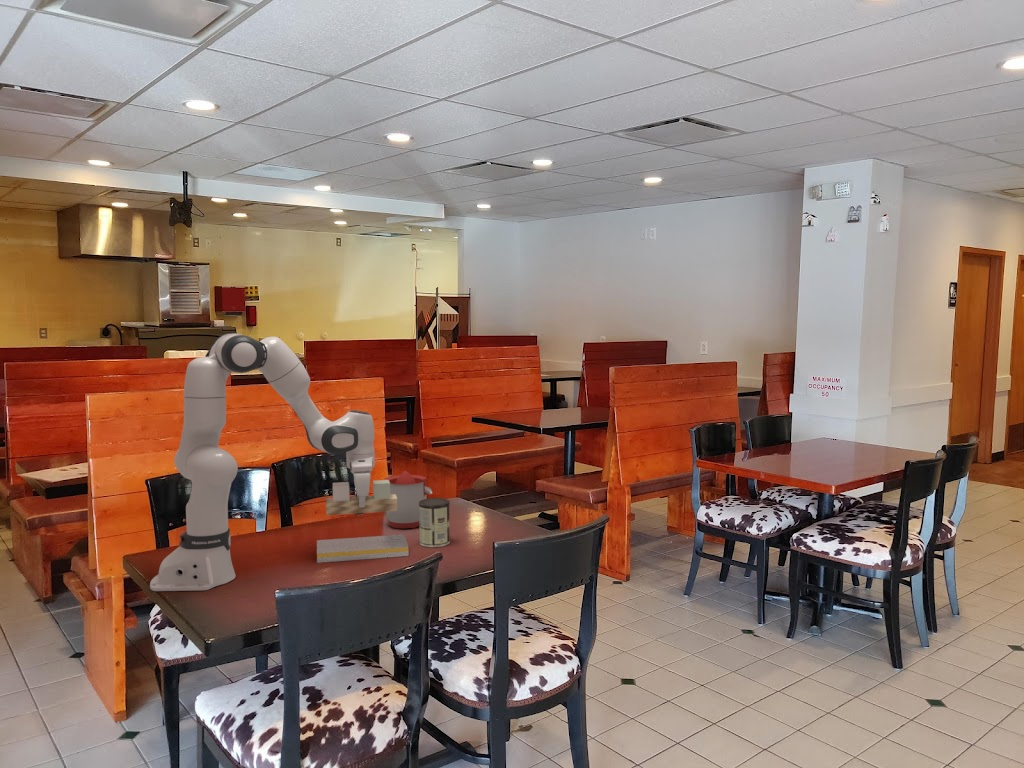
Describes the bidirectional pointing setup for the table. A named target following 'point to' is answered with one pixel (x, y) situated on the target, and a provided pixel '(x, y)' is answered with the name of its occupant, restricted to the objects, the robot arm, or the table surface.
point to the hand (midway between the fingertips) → (361, 504)
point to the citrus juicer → (407, 499)
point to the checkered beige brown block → (354, 508)
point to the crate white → (341, 492)
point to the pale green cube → (381, 489)
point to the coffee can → (434, 522)
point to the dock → (361, 548)
